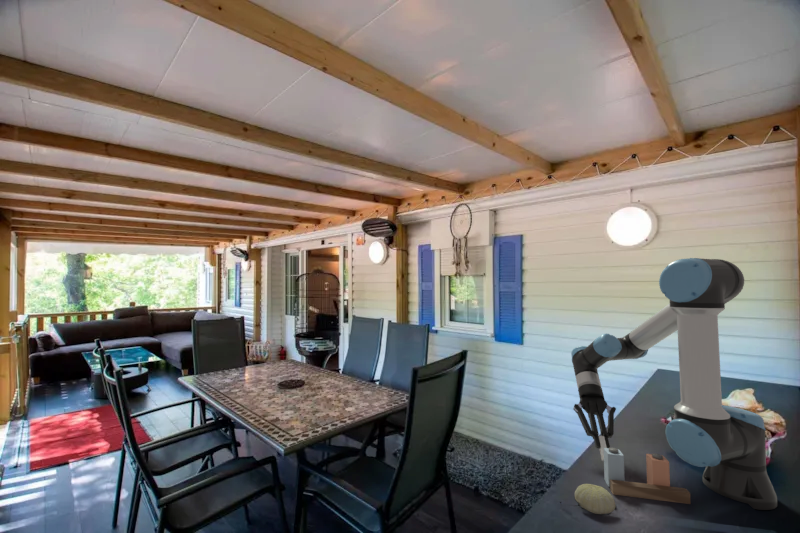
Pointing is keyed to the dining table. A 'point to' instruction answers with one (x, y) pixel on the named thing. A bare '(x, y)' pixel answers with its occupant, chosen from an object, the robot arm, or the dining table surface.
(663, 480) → the terracotta plug
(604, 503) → the sea urchin shell
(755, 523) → the dining table surface
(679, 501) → the maple board
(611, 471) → the grey socket block
